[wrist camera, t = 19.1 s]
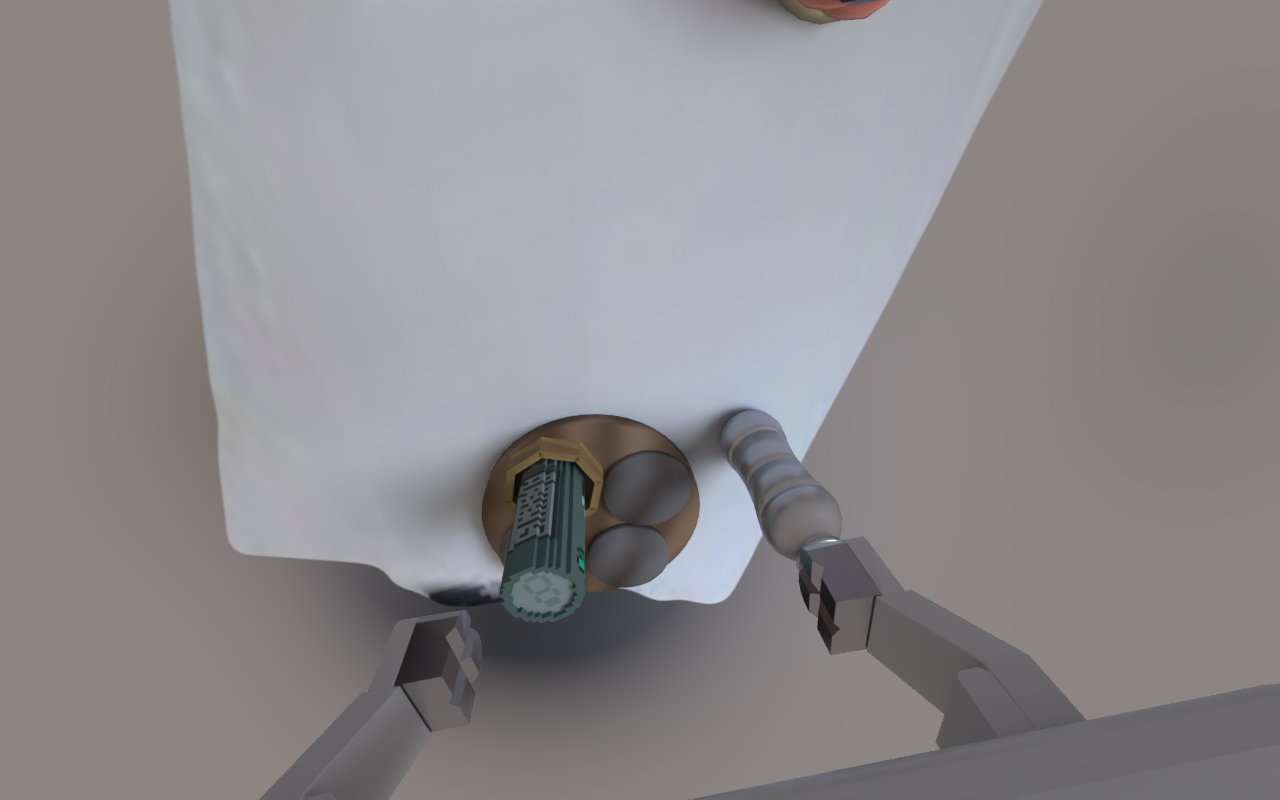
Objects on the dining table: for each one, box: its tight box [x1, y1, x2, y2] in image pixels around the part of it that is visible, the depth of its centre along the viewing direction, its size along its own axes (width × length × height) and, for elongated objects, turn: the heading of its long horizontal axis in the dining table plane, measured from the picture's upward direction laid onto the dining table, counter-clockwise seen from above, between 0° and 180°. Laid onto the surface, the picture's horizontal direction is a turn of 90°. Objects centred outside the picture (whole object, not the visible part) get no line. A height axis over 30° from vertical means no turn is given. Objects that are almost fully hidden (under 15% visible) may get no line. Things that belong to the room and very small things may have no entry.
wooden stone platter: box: [482, 414, 700, 592], centre depth 51 cm, size 24×24×4 cm
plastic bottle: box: [720, 410, 842, 571], centre depth 42 cm, size 6×7×20 cm
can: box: [499, 458, 585, 623], centre depth 42 cm, size 6×6×15 cm
